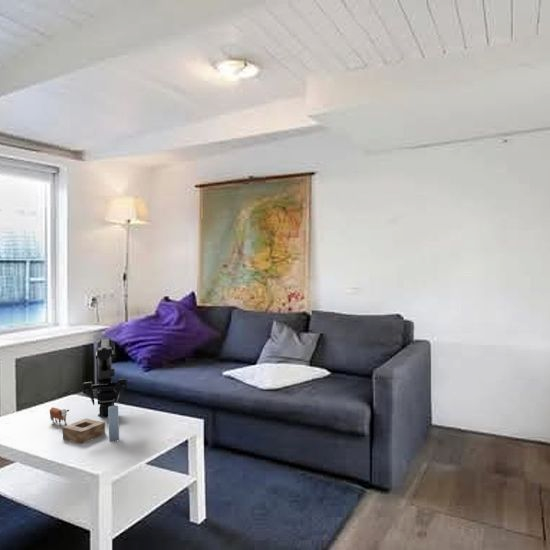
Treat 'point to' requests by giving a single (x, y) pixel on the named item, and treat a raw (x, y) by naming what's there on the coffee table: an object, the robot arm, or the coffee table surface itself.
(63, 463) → the coffee table surface
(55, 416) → the bull figurine
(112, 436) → the dowel
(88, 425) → the socket
